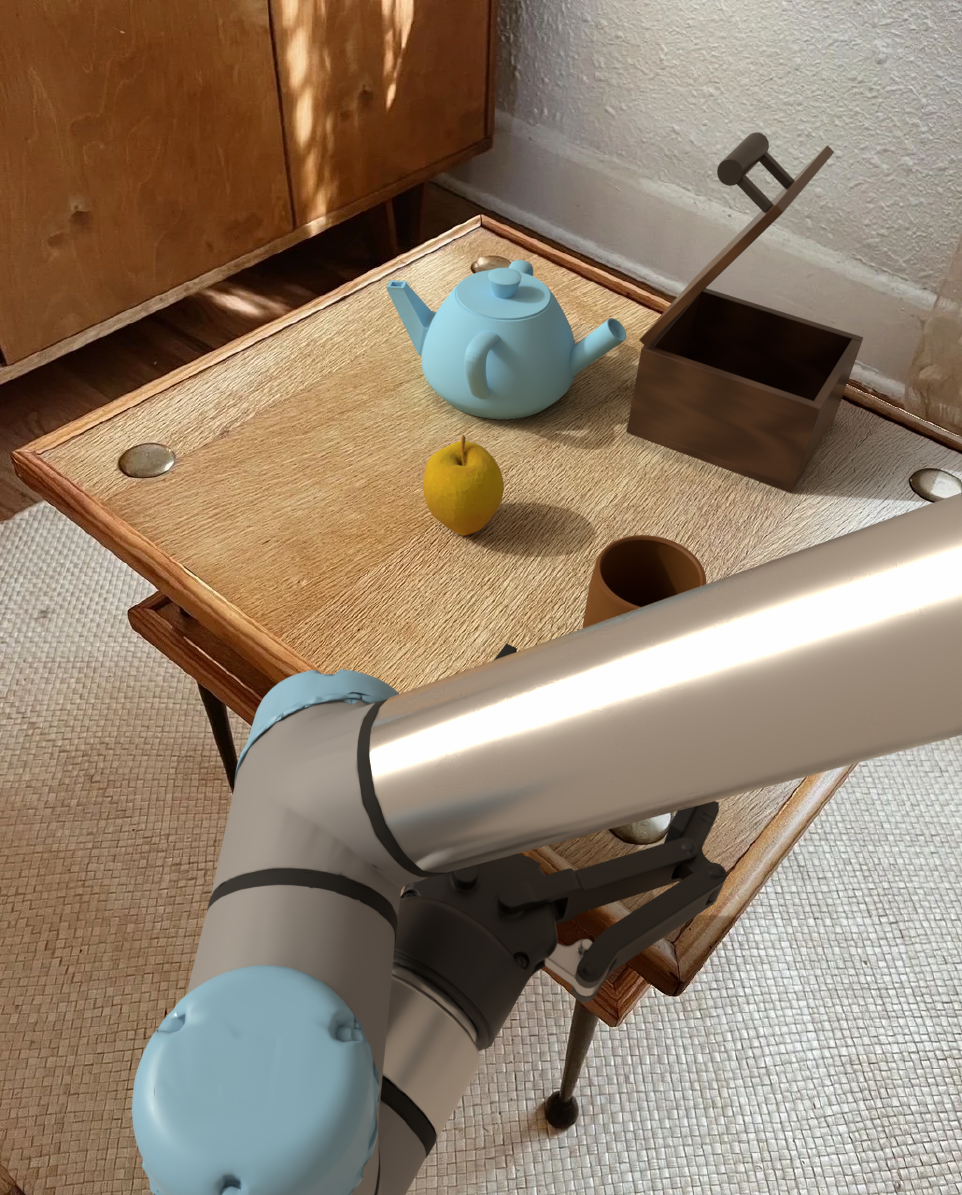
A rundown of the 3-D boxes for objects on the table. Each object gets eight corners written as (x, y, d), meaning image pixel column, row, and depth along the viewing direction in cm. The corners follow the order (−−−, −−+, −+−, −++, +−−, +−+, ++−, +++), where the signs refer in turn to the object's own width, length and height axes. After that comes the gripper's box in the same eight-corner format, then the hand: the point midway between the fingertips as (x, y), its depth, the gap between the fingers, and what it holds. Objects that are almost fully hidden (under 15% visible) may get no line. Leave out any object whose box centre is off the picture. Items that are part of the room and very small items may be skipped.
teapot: (485, 460, 89) (492, 348, 81) (383, 364, 99) (380, 255, 91) (621, 406, 96) (639, 297, 88) (513, 321, 105) (520, 216, 97)
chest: (834, 419, 96) (863, 337, 89) (791, 493, 88) (820, 409, 82) (679, 366, 101) (696, 285, 94) (626, 432, 93) (641, 348, 87)
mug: (752, 708, 72) (787, 617, 65) (680, 766, 68) (708, 676, 61) (627, 610, 78) (647, 517, 71) (555, 658, 74) (568, 565, 67)
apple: (466, 488, 87) (469, 410, 81) (516, 528, 83) (523, 450, 78) (406, 519, 84) (404, 441, 78) (455, 562, 80) (458, 484, 75)
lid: (834, 152, 81) (783, 98, 81) (783, 212, 73) (726, 153, 73) (700, 283, 94) (656, 238, 93) (645, 347, 86) (596, 297, 86)
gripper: (222, 917, 55) (431, 661, 68) (647, 1182, 47) (792, 835, 60) (201, 845, 50) (433, 582, 63) (677, 1130, 42) (829, 762, 55)
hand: (609, 705), depth 62 cm, fingers open, 13 cm apart
